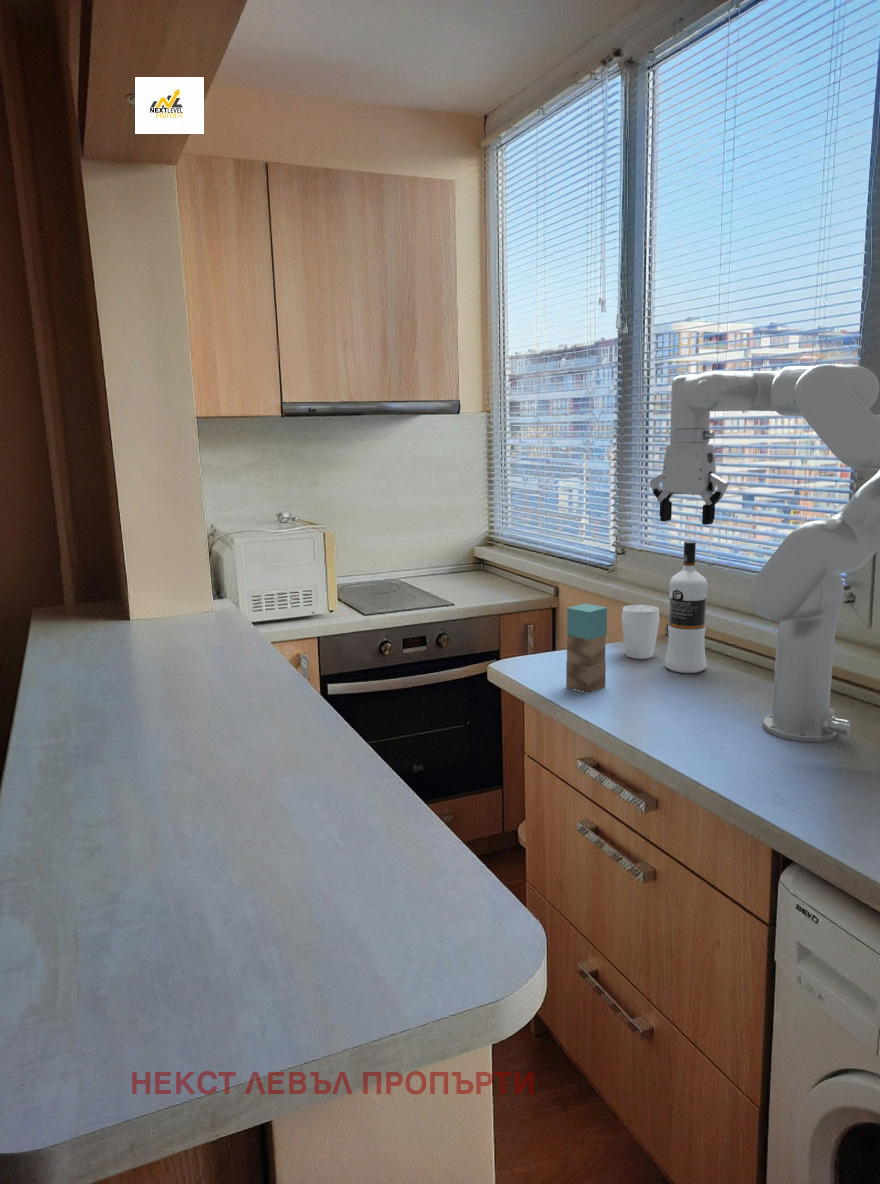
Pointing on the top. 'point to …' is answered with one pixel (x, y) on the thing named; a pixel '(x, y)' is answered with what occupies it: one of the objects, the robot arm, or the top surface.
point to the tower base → (585, 676)
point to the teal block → (587, 621)
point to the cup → (640, 630)
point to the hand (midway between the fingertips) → (686, 522)
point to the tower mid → (585, 650)
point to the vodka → (687, 617)
